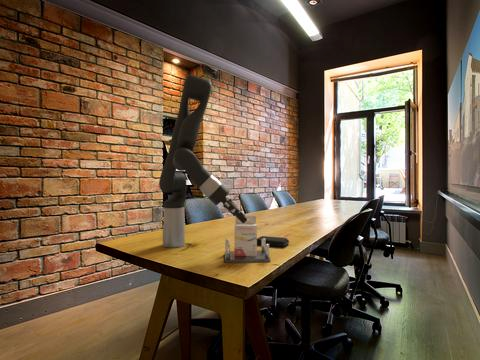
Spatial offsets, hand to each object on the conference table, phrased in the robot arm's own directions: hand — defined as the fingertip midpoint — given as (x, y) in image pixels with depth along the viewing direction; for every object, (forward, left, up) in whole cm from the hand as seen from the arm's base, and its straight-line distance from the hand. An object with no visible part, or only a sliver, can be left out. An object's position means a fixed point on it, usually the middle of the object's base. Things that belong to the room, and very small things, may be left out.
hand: (244, 219), depth 107 cm
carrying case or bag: (+14, +20, -15) cm, 29 cm away
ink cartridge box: (0, 0, -14) cm, 14 cm away
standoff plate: (+1, 0, -14) cm, 15 cm away
